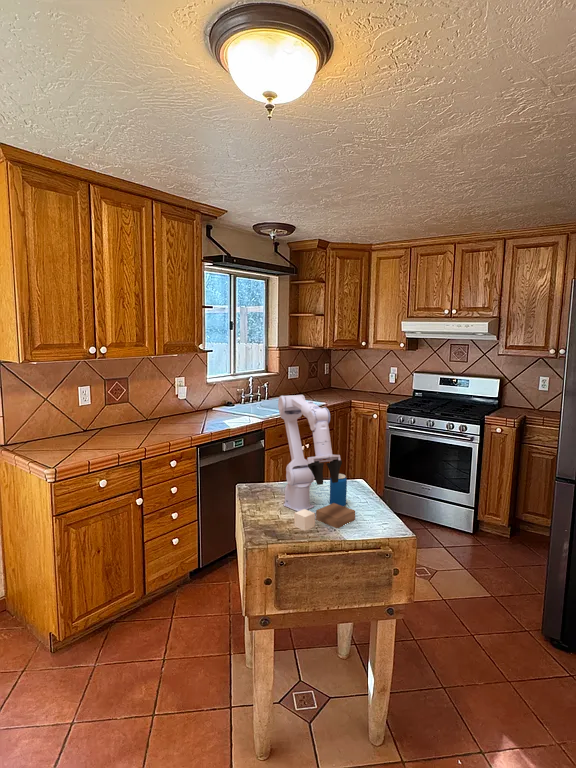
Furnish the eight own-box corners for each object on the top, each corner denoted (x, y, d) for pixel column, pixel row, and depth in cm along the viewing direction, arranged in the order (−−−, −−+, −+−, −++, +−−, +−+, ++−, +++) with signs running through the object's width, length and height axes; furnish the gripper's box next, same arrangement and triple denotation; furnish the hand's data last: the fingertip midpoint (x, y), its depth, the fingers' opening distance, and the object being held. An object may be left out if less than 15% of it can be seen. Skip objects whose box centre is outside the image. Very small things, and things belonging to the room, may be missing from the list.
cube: (294, 526, 158) (294, 512, 158) (304, 522, 162) (304, 508, 161) (304, 531, 155) (305, 517, 154) (314, 526, 158) (314, 513, 158)
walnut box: (315, 520, 164) (316, 510, 163) (333, 513, 171) (333, 502, 170) (337, 529, 157) (337, 518, 156) (354, 521, 164) (355, 510, 163)
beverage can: (344, 502, 180) (345, 473, 179) (347, 508, 174) (348, 478, 172) (328, 502, 180) (329, 473, 179) (330, 508, 174) (331, 478, 172)
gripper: (316, 441, 146) (322, 484, 143) (344, 440, 156) (350, 480, 153) (301, 445, 151) (306, 486, 148) (329, 443, 161) (334, 482, 158)
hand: (327, 483), depth 151 cm, fingers open, 7 cm apart
